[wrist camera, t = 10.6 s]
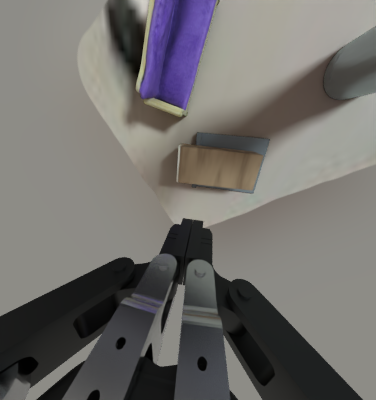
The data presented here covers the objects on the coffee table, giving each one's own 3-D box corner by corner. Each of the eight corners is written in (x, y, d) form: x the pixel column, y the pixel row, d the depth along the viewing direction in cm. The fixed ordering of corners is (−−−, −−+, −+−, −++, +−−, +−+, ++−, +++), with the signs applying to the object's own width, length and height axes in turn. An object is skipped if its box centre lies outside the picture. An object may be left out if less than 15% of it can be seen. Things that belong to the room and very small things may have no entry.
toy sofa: (186, 120, 36) (177, 116, 27) (153, 107, 36) (133, 99, 27) (223, -6, 26) (229, -78, 17) (178, -24, 26) (160, -106, 17)
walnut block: (181, 143, 36) (253, 151, 36) (178, 174, 39) (244, 182, 39) (178, 146, 31) (263, 155, 31) (176, 182, 34) (252, 190, 34)
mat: (269, 138, 35) (272, 139, 33) (252, 192, 41) (254, 195, 39) (197, 132, 36) (197, 132, 35) (192, 184, 43) (191, 187, 41)
